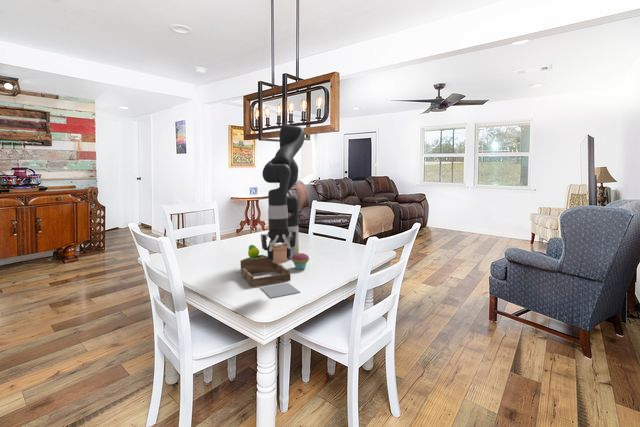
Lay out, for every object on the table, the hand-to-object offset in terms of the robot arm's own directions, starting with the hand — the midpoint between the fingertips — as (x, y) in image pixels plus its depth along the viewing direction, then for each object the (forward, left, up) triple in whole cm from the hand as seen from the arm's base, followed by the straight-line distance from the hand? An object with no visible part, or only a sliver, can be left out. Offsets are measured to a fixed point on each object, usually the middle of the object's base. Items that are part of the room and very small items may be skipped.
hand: (279, 258), depth 131 cm
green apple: (-34, +1, -13) cm, 36 cm away
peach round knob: (0, 0, -1) cm, 1 cm away
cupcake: (-24, +20, -13) cm, 34 cm away
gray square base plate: (0, 0, -13) cm, 13 cm away
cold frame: (-18, 0, -13) cm, 22 cm away
